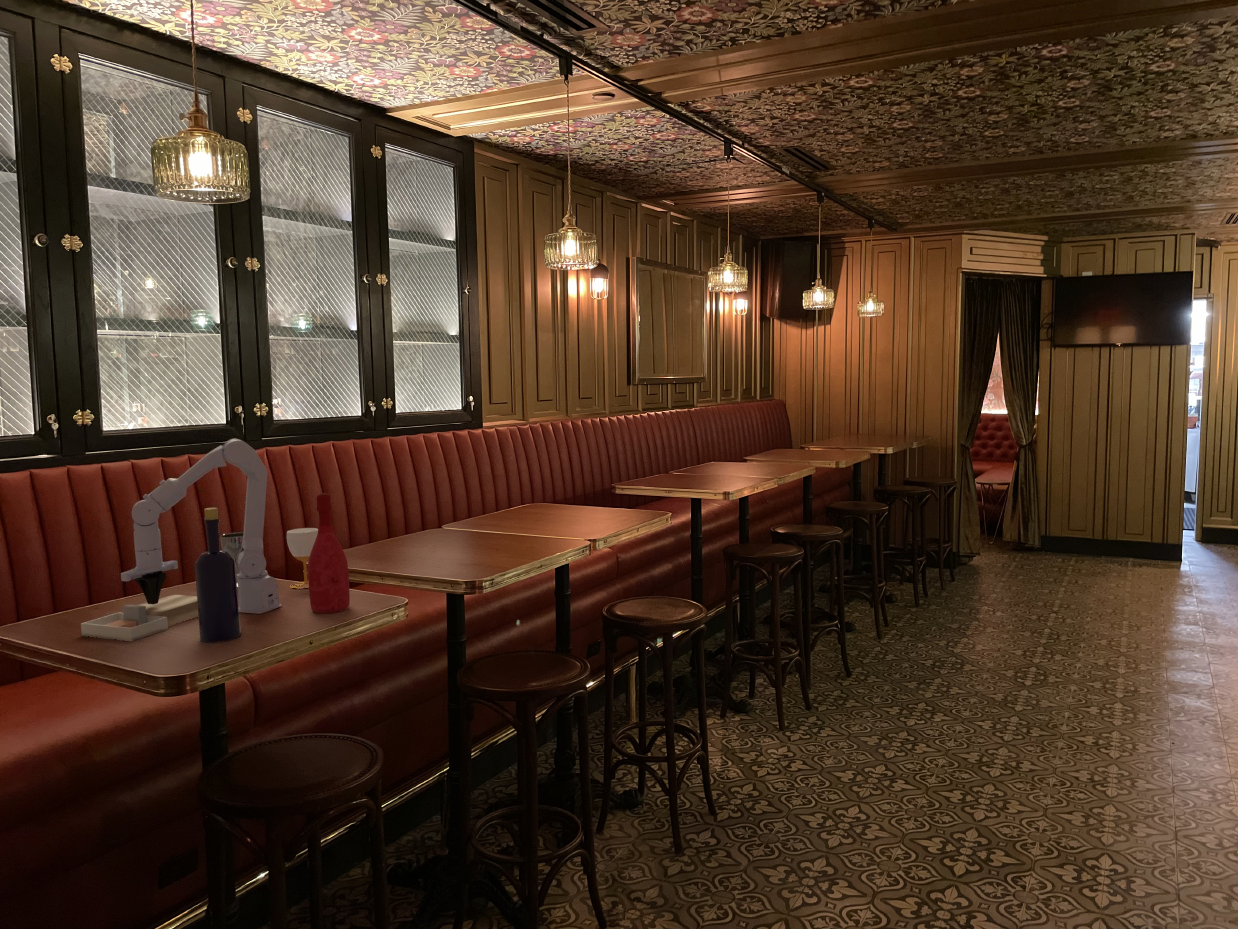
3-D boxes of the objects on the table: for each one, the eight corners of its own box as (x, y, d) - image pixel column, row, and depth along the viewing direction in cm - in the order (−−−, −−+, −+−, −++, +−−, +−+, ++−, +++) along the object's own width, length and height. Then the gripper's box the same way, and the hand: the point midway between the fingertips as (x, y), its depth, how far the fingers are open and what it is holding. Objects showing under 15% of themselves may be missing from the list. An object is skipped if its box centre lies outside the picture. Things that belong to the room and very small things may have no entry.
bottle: (211, 631, 205) (201, 506, 202) (249, 631, 205) (240, 505, 202) (190, 643, 196) (180, 512, 193) (231, 642, 196) (221, 511, 193)
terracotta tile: (117, 627, 202) (117, 635, 202) (136, 621, 206) (136, 629, 207) (101, 625, 204) (102, 633, 204) (121, 619, 208) (121, 627, 209)
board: (209, 612, 222) (208, 597, 222) (163, 628, 209) (162, 611, 209) (174, 609, 227) (173, 594, 226) (127, 624, 214) (126, 608, 213)
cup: (294, 591, 243) (290, 534, 242) (285, 585, 251) (281, 530, 249) (327, 585, 249) (323, 530, 247) (317, 580, 256) (313, 526, 254)
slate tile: (145, 606, 209) (138, 607, 207) (145, 626, 209) (138, 628, 207) (130, 604, 211) (123, 605, 209) (130, 625, 211) (123, 626, 209)
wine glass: (242, 589, 248) (238, 537, 246) (218, 588, 249) (214, 537, 248) (259, 582, 255) (255, 532, 254) (235, 582, 257) (231, 532, 255)
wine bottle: (301, 613, 220) (293, 495, 217) (328, 603, 229) (321, 490, 226) (332, 616, 216) (325, 496, 213) (358, 606, 225) (351, 491, 222)
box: (168, 629, 208) (167, 617, 208) (131, 641, 199) (130, 628, 199) (119, 624, 214) (118, 612, 214) (81, 635, 205) (80, 623, 204)
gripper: (161, 542, 220) (165, 595, 222) (109, 554, 207) (114, 610, 208) (182, 544, 218) (186, 597, 219) (131, 555, 204) (136, 612, 206)
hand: (152, 603), depth 214 cm, fingers closed
